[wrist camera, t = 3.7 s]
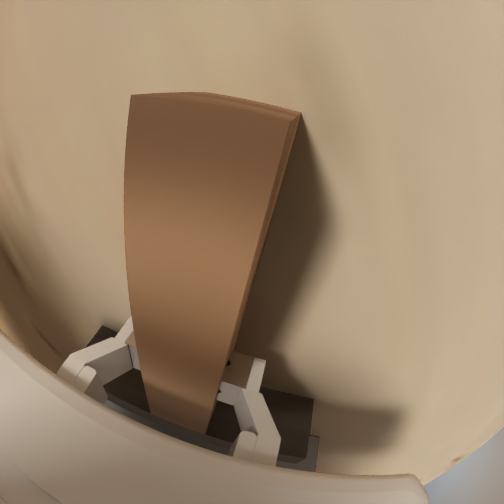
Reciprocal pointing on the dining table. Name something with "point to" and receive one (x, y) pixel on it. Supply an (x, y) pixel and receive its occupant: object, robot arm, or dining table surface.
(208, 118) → the wooden t-shaped pusher
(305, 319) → the dining table surface
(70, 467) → the robot arm
